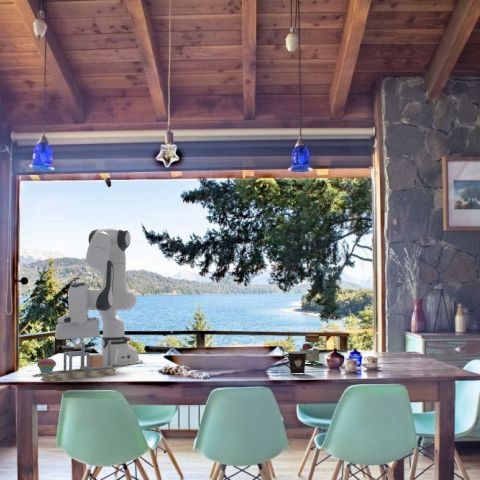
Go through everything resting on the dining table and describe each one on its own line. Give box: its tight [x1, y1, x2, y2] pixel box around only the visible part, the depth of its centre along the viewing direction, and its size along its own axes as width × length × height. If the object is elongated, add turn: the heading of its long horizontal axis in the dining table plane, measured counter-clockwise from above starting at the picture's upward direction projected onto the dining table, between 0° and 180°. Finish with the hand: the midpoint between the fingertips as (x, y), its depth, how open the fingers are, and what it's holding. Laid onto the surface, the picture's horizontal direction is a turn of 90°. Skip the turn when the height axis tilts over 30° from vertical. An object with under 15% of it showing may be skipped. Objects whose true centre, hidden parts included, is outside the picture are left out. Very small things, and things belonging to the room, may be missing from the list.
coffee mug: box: [279, 350, 307, 374], centre depth 283 cm, size 12×9×10 cm
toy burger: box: [299, 333, 323, 365], centre depth 313 cm, size 12×13×15 cm
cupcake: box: [36, 348, 57, 375], centre depth 286 cm, size 9×8×12 cm
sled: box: [79, 341, 113, 370], centre depth 282 cm, size 14×5×12 cm, turn 123°
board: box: [42, 366, 116, 382], centre depth 277 cm, size 31×10×3 cm, turn 123°
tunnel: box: [63, 350, 90, 374], centre depth 277 cm, size 9×10×8 cm
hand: (77, 348), depth 277 cm, fingers closed
